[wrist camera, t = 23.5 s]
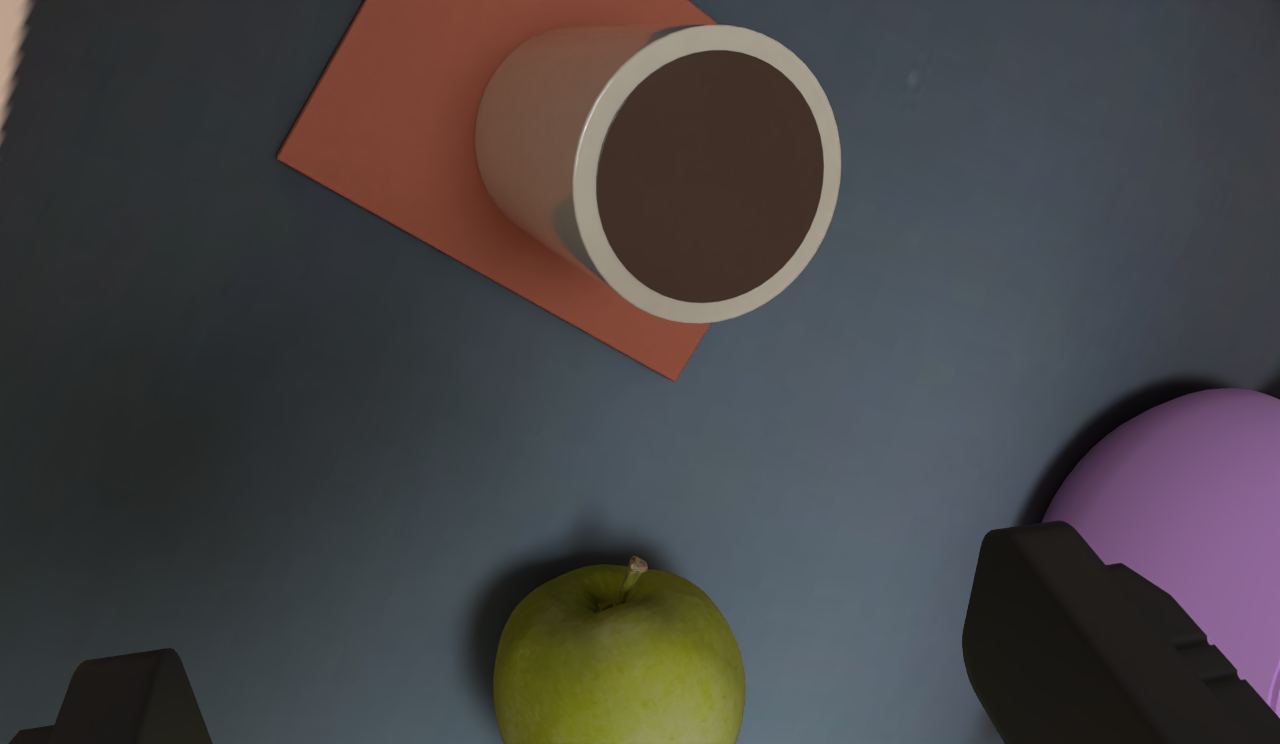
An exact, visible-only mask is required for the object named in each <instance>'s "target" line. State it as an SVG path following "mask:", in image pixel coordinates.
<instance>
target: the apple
mask: <svg viewBox="0 0 1280 744" xmlns="http://www.w3.org/2000/svg"><path fill="white" fill-rule="evenodd" d="M745 690H746V686H745V675H744V667H743V662H742V658H741V653H740V650H739V647H738V644H737V642H736V639H735V637H734V635H733V633H732V631H731V629H730V627H729V625H728V623H727V621H726V619H725V618H724V616H723V615H722V613H721V612H720V610H719V609H718V608H717V606H716V605H715V604H714V602H713V601H712V600H711V599H710V598H709V597H708V595H707V594H706V593H705V592H704V591H702V590H701V589H700V588H699V587H697V586H696V585H694V584H693V583H691V582H690V581H688V580H687V579H685V578H683V577H680V576H678V575H675V574H672V573H670V572H666V571H661V570H653V569H648V567H647V563H646V562H645V560H642V559H640V558H638V557H637V556H633V557H632V558H631V559H630V562H629V566H628V567H627V566H620V565H608V564H600V565H591V566H586V567H582V568H578V569H575V570H572V571H570V572H568V573H565V574H563V575H561V576H558V577H556V578H554V579H552V580H550V581H548V582H546V583H544V584H542V585H541V586H539V587H538V588H536V589H535V590H533V591H532V592H531V593H529V594H528V595H527V596H526V597H525V598H524V599H523V600H522V601H521V602H520V603H519V604H518V605H517V606H516V608H515V609H514V610H513V612H512V614H511V615H510V617H509V619H508V621H507V623H506V625H505V627H504V629H503V632H502V635H501V638H500V642H499V645H498V650H497V655H496V661H495V668H494V677H493V699H494V706H495V713H496V718H497V722H498V727H499V730H500V734H501V737H502V740H503V743H504V744H736V741H737V738H738V734H739V731H740V727H741V723H742V718H743V712H744V705H745Z"/></svg>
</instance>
